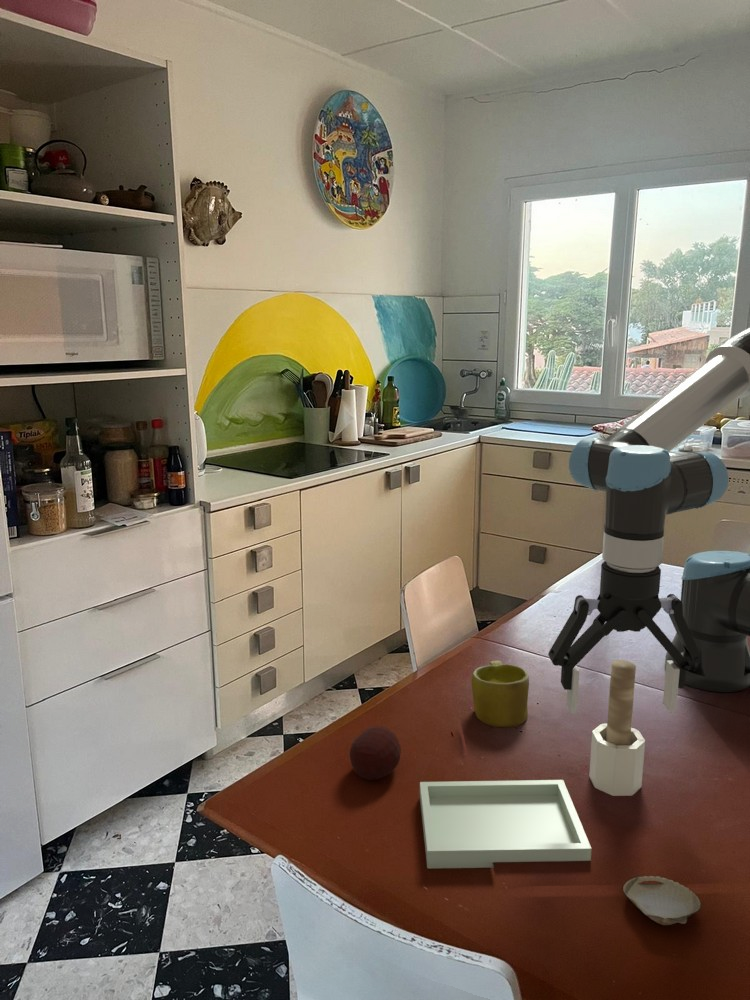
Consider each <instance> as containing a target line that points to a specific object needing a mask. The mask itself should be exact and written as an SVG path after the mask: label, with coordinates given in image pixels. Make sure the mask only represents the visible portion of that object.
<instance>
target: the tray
mask: <svg viewBox="0 0 750 1000" xmlns="http://www.w3.org/2000/svg"><path fill="white" fill-rule="evenodd" d="M419 802H420V803H419V804H420V812H421V822H422V823H421V824H422V830H423V831H422V832H423V841H424V851H425V860H426V868H427V869H428V870H429V869H477V868H479V869H480V868H481V869H483V868H484V869H485V868H486V869H487V868H488V869H489V868H491V869H492V868H495V867H494V863H523V862H524V863H528V862H529V863H531V862H533V863H535V862H536V863H537V862H538V863H540V862H591V860H592V859H591V858H592V850H593V849H592V847H591V844H590V841H589V839H588V837H587V834H586V831H585V829H584V827H583V824H582V822H581V820H580V818H579V814H578V813H577V812H578V811H577V810H576V808H575V805H574V803H573V800H572V798H571V795H570V793H569V791H568V788H567V786H566V784H565V781H564V779H540V780H539V779H538V780H537V779H536V780H535V779H532V780H531V779H527V780H524V779H523V780H470V781H469V780H467V781H465V780H464V781H462V780H461V781H459V780H457V781H420V782H419Z"/></svg>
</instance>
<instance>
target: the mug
mask: <svg viewBox="0 0 750 1000" xmlns="http://www.w3.org/2000/svg"><path fill="white" fill-rule="evenodd" d="M529 686H530V676H529V674H528V672H527V671H526V670H525V669H524V668H522V667H521V666H518V665H513V664H503V663H502V661H501V660H492V661H491V660H490V663H489V664H488V665H484V666H479V667H477V668H475V670H474V671H473V672H472V676H471V690H472V701H473V709H474V714H475V717H476V718H477V719H478V721H481V722H482V723H484V724H486V725H489V726H492V727H494V728H495V727H497V728H512V727H517V726H520V725H522V724H524V723H525V722H526V720H527V718H528V712H529V711H528V709H529V708H528V699H529Z"/></svg>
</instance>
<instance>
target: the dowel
mask: <svg viewBox="0 0 750 1000" xmlns="http://www.w3.org/2000/svg"><path fill="white" fill-rule="evenodd" d="M610 665H611V667H610V679H609V695H608V705H607V706H608V709H607V723H606V724H607V735H606V741H607V742H609V743H612V744H614V745H617V746H618V745H630V737H631V728H632V723H633V712H634V711H633V710H634V699H635V698H634V696H635V684H636V671H637V669H636V668H637V666H636V664H635V663H633V662H631V661H628V660H626V659H625V660H624V659H623V660H622V659H620V660H618V659H617V660H613V661H612V662H611V664H610Z"/></svg>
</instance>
